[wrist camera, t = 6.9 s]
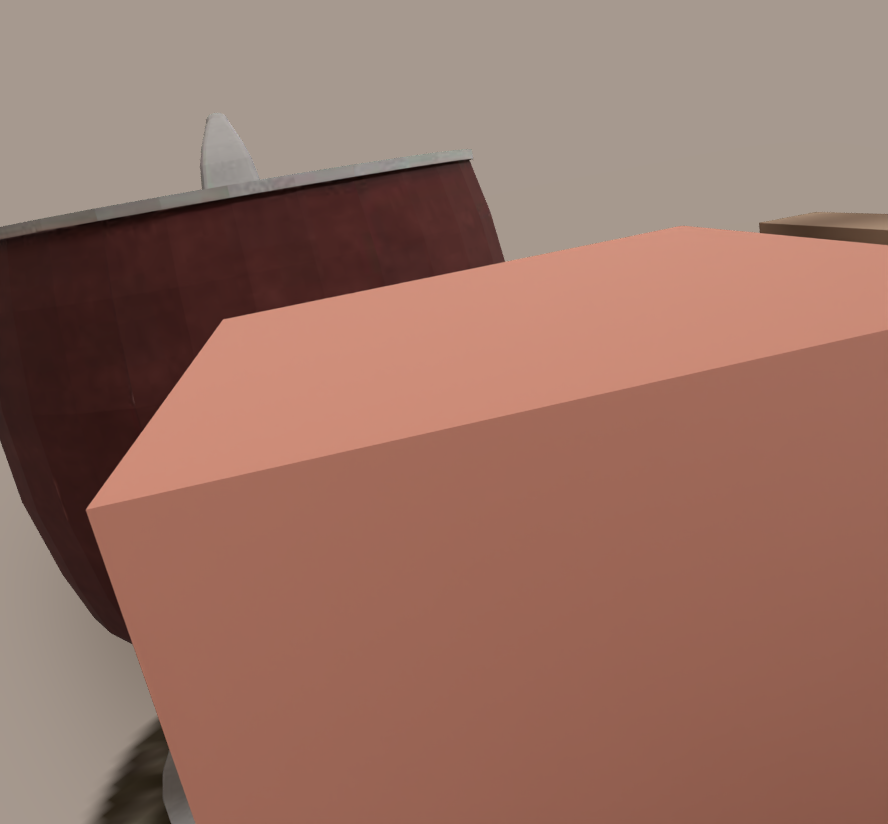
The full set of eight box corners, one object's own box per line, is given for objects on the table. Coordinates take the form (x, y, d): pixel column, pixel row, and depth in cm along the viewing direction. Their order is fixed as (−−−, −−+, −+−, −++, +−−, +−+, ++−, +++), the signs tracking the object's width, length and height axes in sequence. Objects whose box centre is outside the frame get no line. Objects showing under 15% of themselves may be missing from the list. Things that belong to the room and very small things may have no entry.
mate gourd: (660, 817, 20) (566, -43, 14) (103, 1017, 17) (-285, 64, 12) (485, 562, 35) (403, 85, 29) (167, 650, 32) (7, 145, 26)
